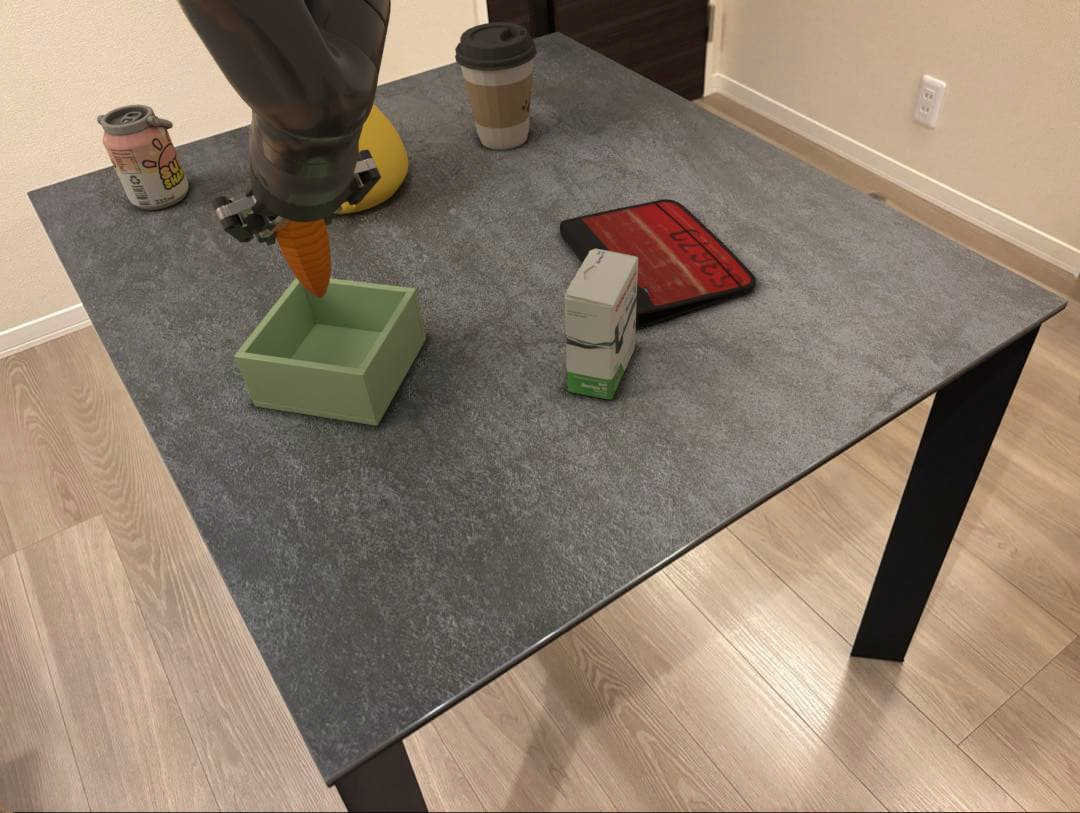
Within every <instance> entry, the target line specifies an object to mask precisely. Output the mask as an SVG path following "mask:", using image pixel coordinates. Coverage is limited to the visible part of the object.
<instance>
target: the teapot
mask: <svg viewBox="0 0 1080 813" xmlns="http://www.w3.org/2000/svg"><path fill="white" fill-rule="evenodd" d="M362 150H369V151H370V153H371V155H372V158H373V160H374V162H375V164H376V166H377V169H378V171H379V173H380V175H381V178H380V179H379V181H378V182H377V183H376V184H375V185H374V187H373V188H372V189H371V190H370V191H369V192H368V194H367V195H366V196H365V197H364V198H363V200H362V201H361V202H359V203H358V204H356V205H349V202H346V203H344V204H342V205H341V206H342V208H343V209H342V210H341V211H340V212H339V213H338V214H337V215H347V214H354V213H358V212H362V211H366V210H368V209H371V208H373V207H377V206H378V205H380V204H382V203H385V201H387V200H388V199H390V198H391V197H392V196H394V195H395V193H396V192H397V190H398V189H399V188H400V187H401V185H402V184H403V182H404V180H405V178H406V176H407V174H408V171H409V166H410V165H409V157H408V153H407V150H406V148H405V145H404V142H403V140H402V138H401V136H400V134H399V132H398V131H397V129H396V128H395V126H394V125H393V123H392V122H391V121H390V120H389V119H388V117H387V116H386V115H385V114H384V113H383V112H382V111H381V109H379V108H378V106H377V105H376V104H375V103H373V107H372V109H371V112H370V114H369V117H368V118H367V120H366V122H365V123H364V124H363V129H362V132H361V136H360V139H359V152H360V151H362Z"/></svg>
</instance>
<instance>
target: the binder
mask: <svg viewBox="0 0 1080 813" xmlns="http://www.w3.org/2000/svg"><path fill="white" fill-rule="evenodd" d="M559 233H560V234H559V235H560V236H561V237H562V238H563V239H564V240H565V242H566V243H567V245H568V246H569V247H570V248H571V249H572V251H573V252H574V254H575V255H576V257H577V258H579V260H580V261H581V262H582V263H583V262H584V260H585V258H586V257H587V255H588V253H589V251H590V250H593V249H600V250H606V251H612V252H617V253H622V254H627V255H631V256H635V257H638V276H637V300H636V326H635V330H640V329H642V328H646V327H649V326H652V325H654V324H657V323H659V322H663V321H666V320H668V319H671V318H674V317H678V316H680V315H683V314H686V313H689V312H691V311H694V310H697V309H700V308H704V307H706V306H710V305H713V304H715V303H718V302H722V301H724V300H728V299H730V298H733V297H737V296H740V295H743V294H745V293H748V292H750V291H752V290H754V289H755V288H756V283H757V278H756V277H755V275H754V274H753V273H752V272H751V270H750V269H749V268H748V267H747V266H746V265H745V264H744V263H743V262H742V260H741V259H740V258H739V257H737V255H736V254H735V253H734V252H733V251H732V250H731V249H730V247H728V246H727V245H726V244H725V243H724V242H723V241H721V239H720V238H719V237H718V236H717V235H716V234H715V233H714V232H712V231H711V230H710V229H709V227H707V226H706V225H705V224H704V223H703V222H702V221H701V220H700V219H698V217H697V216H695V215H694V214H693V213H692V212H691V211H690V210H689V209H688V208H687V207H686V206H684V205H683V204H681V202H679V201H677V200H674V199H669V198H663V199H658V200H652V201H649V202H644V203H640V204H633V205H629V206H623V207H618V208H613V209H610V210H609V209H608V210H604V211H598V212H594V213H591V214H590V213H589V214H585V215H581V216H576V217H572V218H568V219H564V220H561V221H560V223H559Z"/></svg>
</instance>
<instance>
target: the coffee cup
mask: <svg viewBox="0 0 1080 813" xmlns="http://www.w3.org/2000/svg"><path fill="white" fill-rule="evenodd" d="M536 46H537V45H536V43H535V40H534V39H533V37H531V36H530V35H529V31H528V29H527V28H525V27H524V26H522V25H521V24H517V23H513V22H506V21H496V22H487V23H481V24H478V25H474V26H472V27H470V28H467V29H466V30H465V31H464V32H462V33H461V35H460V37H459V43H457V45H456V47H455V49H454V51H455V56H454V58H455V62H456V63H457V64H458V65H460V68H461V72H462V75H463V81H464V84H465V88H466V92H467V97H468V100H469V105H470V109H471V112H472V117H473V120H474V125H475V128H476V132H477V136H478V138H479V139H480V143H481V144H482V145H483V146H484V147H485V148H488V149H491V150H500V151H501V150H502V151H504V150H511V149H514V148H517V147H519V146H521V145H524V144H525V142H526V141H527V139H528V134H529V132H530V120H531V119H530V118H531V103H532V102H531V101H532V84H533V67H534V58H535V57H536V55H537V53H538V51H537V48H536Z"/></svg>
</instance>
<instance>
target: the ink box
mask: <svg viewBox="0 0 1080 813" xmlns="http://www.w3.org/2000/svg"><path fill="white" fill-rule="evenodd" d="M637 276H638V257H635V256H631V255H627V254H622V253H617V252H612V251H606V250H600V249H593V250H590V251H589V253H588V255H587V257H586V258H585V260H584V262H582V264H581V266H580V267H579V269H578V270H577V272H576V273H575V275H574V277H573V278H572V280H571V282H570V284H569V286H568V287H567V289H566V290H565V294H564V297H563V300H564V302H563V303H564V328H565V329H564V330H565V360H566V361H565V364H566V384H567V385H566V386H567V391H568V392H569V393H573V394H578V395H582V396H588V397H593V398H599V399H605V400H613V398H614V396H615V395H616V392H617V389H618V387H619V385H620V383H621V380H622V378H623V376H624V374H625V371H626V369H627V367H628V365H629V362H630V360H631V357H632V355H633V354H634V351H635V348H636V327H635V326H636V300H637Z"/></svg>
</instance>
